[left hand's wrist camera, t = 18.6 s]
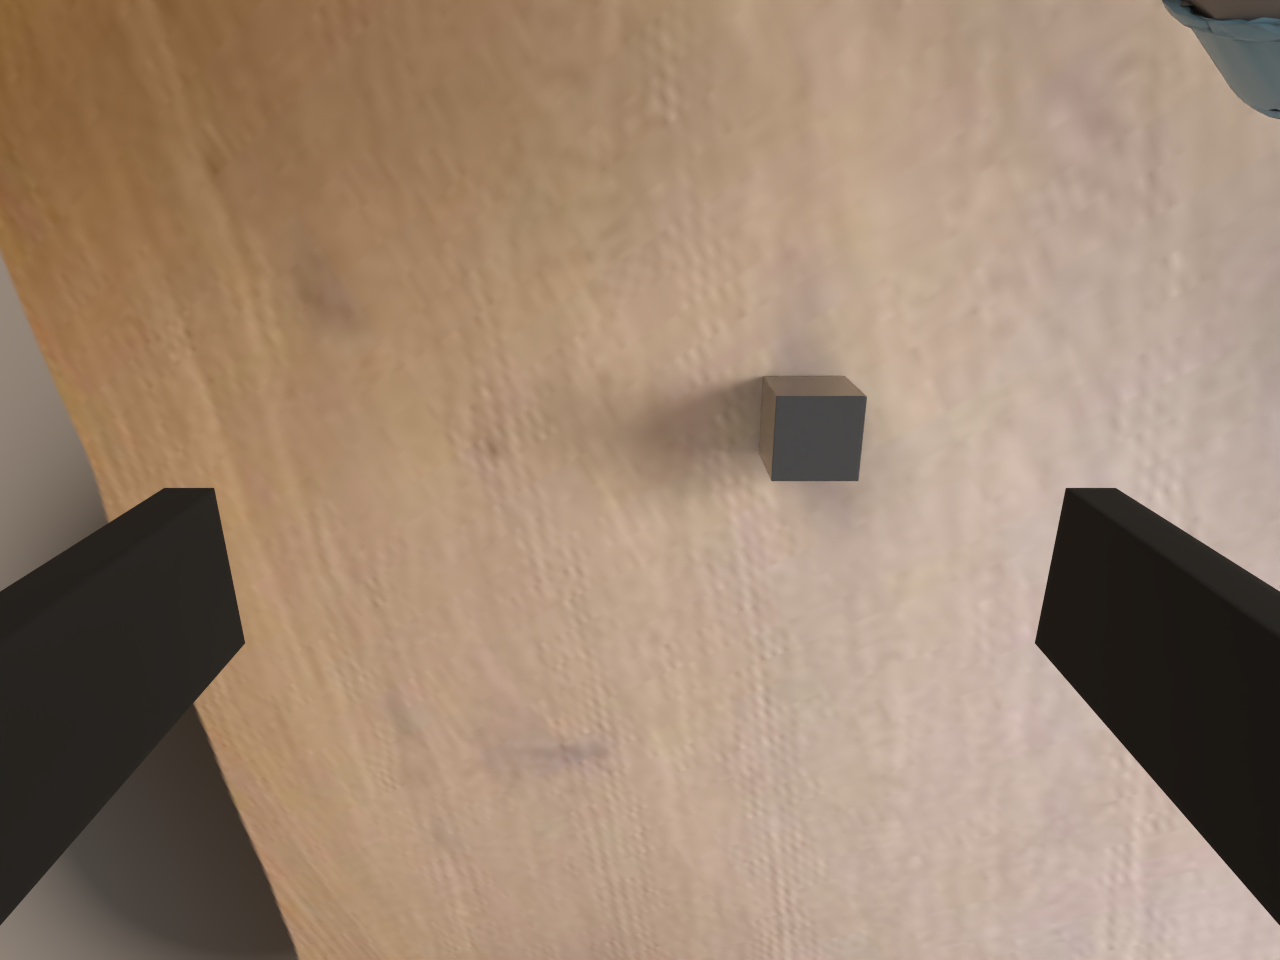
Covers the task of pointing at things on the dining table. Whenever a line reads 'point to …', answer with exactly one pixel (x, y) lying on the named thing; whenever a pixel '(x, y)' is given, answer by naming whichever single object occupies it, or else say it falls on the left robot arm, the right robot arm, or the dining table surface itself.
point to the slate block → (811, 428)
